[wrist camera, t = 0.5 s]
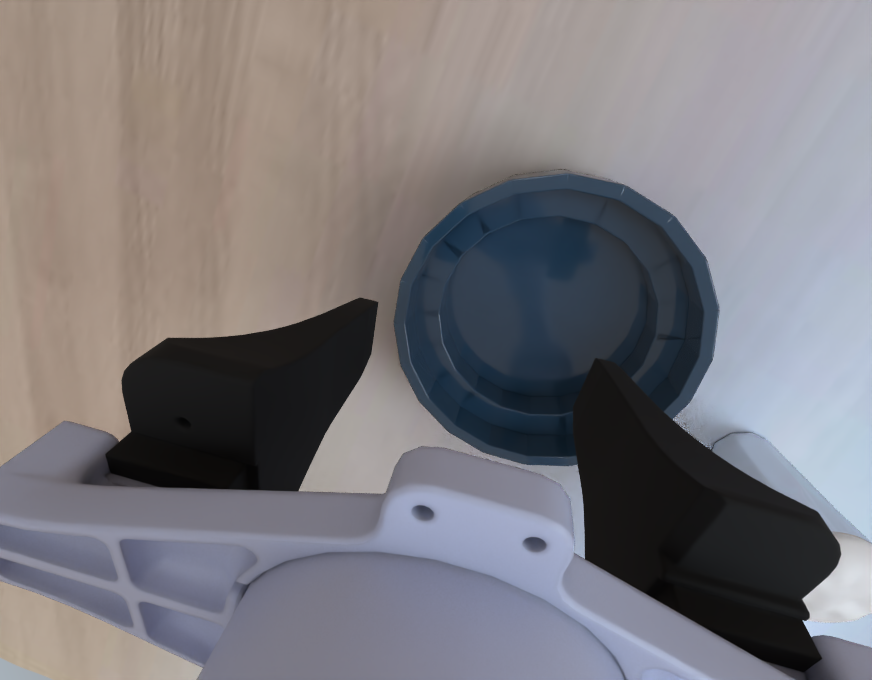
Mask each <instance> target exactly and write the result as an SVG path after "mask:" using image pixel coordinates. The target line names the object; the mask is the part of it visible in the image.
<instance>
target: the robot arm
mask: <svg viewBox="0 0 872 680" xmlns="http://www.w3.org/2000/svg"><path fill="white" fill-rule="evenodd" d="M377 308H378V302H376V301H372V300H368V299H364V298H358V299H355V300H353V301H350V302H348V303H346V304H344V305H342V306H339V307H337V308H335V309H332V310H330V311H328V312H326V313H323V314H321V315H318V316H315V317H313V318H310V319H307V320H304V321H302V322H299V323H296V324H293V325H289V326H285V327H282V328H278V329H274V330H269V331H263V332H257V333H251V334H245V335H238V336H228V337H214V338H167V339H165V340H164V341H162V342H161V343H159V344H158V345H157V346H155V347H154V348H152V349H151V350H149V351H148V352H146V353H145V354H144V355H142V356H141V357H139V358H138V359H136V360H135V361H133V362H132V363H131V364H130V365H129V366H128V367H127V368H126V370H125V371H124V374H123V377H122V392H123V397H124V401H125V406H126V410H127V414H128V419H129V423H130V427H131V432H130V433H129V434H128V435H127V436H126V437H125V438H123V439H122V440H121V441H120V442H119V441H118V439H117V438H115V437H114V436H113V435H112V434H110V433H108V432H106V431H102V430H98V429H95V428H91V427H88V426H84V425H81V424H77V423H74V422H70V421H63V422H62V423H61V424H59V425H58V426H56V427H55V428H54V429H52V430H51V431H49V432H48V433H47V434H45V435H44V436H42V437H41V438H40V439H38V440H37V441H35V442H34V443H33V444H31V445H30V446H29V447H27V448H26V449H24V450H23V451H22V452H20V453H19V454H17V455H16V456H15V457H13V458H12V459H10V460H9V461H8V462H6V463H5V464H3V465H2V466H1V467H0V581H2V582H5V583H8V584H11V585H14V586H17V587H20V588H23V589H26V590H29V591H32V592H35V593H37V594H40V595H43V596H45V597H48V598H50V599H53V600H55V601H58V602H61V603H63V604H66V605H68V606H71V607H73V608H75V609H77V610H80V611H82V612H84V613H86V614H89V615H91V616H93V617H95V618H98V619H100V620H102V621H104V622H107V623H109V624H111V625H113V626H115V627H117V628H119V629H121V630H124V631H126V632H128V633H130V634H132V635H134V636H136V637H138V638H141V639H143V640H145V641H147V642H149V643H151V644H153V645H155V646H158V647H160V648H162V649H164V650H166V651H168V652H170V653H172V654H175V655H177V656H179V657H181V658H183V659H185V660H187V661H189V662H192V663H194V664H196V665H198V666H200V667H202V668H203V669H202V671H201V673H200V674H199V676H198V678H197V680H872V648H871V647H868V646H864V645H860V644H857V643H853V642H850V641H846V640H843V639H839V638H836V637H832V636H825V635H820V636H813V637H811V636H810V634H809V632H808V630H807V629H806V627H805V625H804V623H803V621H802V620H804V621H806V620H808V619H809V618H810V613H809V611H808V609H807V607H806V605H805V603H804V602H803V600H802V599H803V598H804V597H805V596H806V595H808V594H809V593H810V592H811V591H812V590H813V589H815V588H816V587H817V586H818V585H819V584H820V583H821V582H823V581H824V580H825V579H826V578H827V577H828V576H829V575H830V574H831V573H832V572H833V571H834V569H835V568H836V567H837V565H838V563H839V560H840V557H841V549H840V544H839V542H838V541H837V539H836V538H835V536H834V535H833V533H832V532H831V530H830V529H829V527H828V526H827V524H826V523H825V521H824V520H823V518H822V517H821V515H820V514H819V513H818V512H817V511H816V510H814V509H812V508H810V507H808V506H806V505H804V504H802V503H800V502H798V501H796V500H794V499H792V498H790V497H788V496H786V495H784V494H782V493H780V492H778V491H776V490H774V489H772V488H770V487H768V486H767V485H765V484H763V483H761V482H760V481H758V480H756V479H754V478H753V477H751V476H749V475H748V474H746V473H744V472H743V471H741V470H739V469H738V468H736V467H735V466H733V465H731V464H730V463H728V462H727V461H726V460H724V459H723V458H721V457H720V456H718V455H717V454H715V453H714V452H712V451H711V450H709V449H708V448H707V447H705V446H704V445H703V444H701V443H700V442H699V441H697V440H696V439H695V438H694V437H692V436H691V435H690V434H689V433H687V432H686V431H685V430H684V429H682V428H681V427H680V426H679V425H678V424H677V423H675V422H674V421H673V420H672V419H671V418H670V417H669V416H668V415H667V414H666V413H665V412H664V411H662V410H661V409H660V408H659V407H658V406H657V405H656V404H655V403H654V402H653V401H652V400H651V399H650V398H649V397H648V396H647V395H646V394H645V393H644V391H643V390H642V389H641V388H640V387H639V386H638V385H637V384H636V383H635V382H634V381H633V380H632V379H631V378H630V377H629V376H628V375H627V374H626V373H625V372H624V371H623V370H622V369H621V368H620V367H619V366H618V365H617V364H616V363H615V362H611V361H607V360H603V359H599V358H595V360H594V362H593V364H592V366H591V369H590V371H589V373H588V375H587V377H586V379H585V382H584V384H583V386H582V388H581V390H580V393H579V395H578V397H577V399H576V401H575V403H574V406H573V437H574V443H575V450H576V456H577V462H578V469H579V475H580V481H581V487H582V494H583V503H584V527H585V559H584V558H582V557H580V556H578V555H577V554H575V553H574V546H575V537H574V528H573V519H572V510H571V501H570V498H569V496H568V495H567V494H566V492H565V491H564V489H563V488H562V486H561V485H560V484H559V483H557V482H555V481H553V480H551V479H549V478H547V477H545V476H543V475H541V474H538V473H535V472H531V471H527V470H524V469H520V468H516V467H513V466H509V465H505V464H502V463H498V462H494V461H491V460H487V459H483V458H480V457H476V456H472V455H469V454H465V453H461V452H458V451H454V450H450V449H447V448H439V447H426V446H421V447H418V448H416V449H413V450H411V451H408V452H406V453H403V455H402V456H401V458H400V460H399V461H398V463H397V464H396V466H395V468H394V471H393V474H392V477H391V479H390V482H389V485H388V488H387V491H386V493H384V494H370V493H335V492H301V491H299V488H300V486H301V484H302V482H303V479H304V477H305V475H306V473H307V471H308V469H309V466H310V464H311V462H312V460H313V458H314V456H315V454H316V452H317V450H318V448H319V445H320V443H321V441H322V439H323V437H324V435H325V433H326V431H327V430H328V428H329V426H330V424H331V423H332V421H333V420H334V418H335V417H336V415H337V413H338V412H339V410H340V409H341V407H342V406H343V404H344V403H345V401H346V399H347V398H348V396H349V395H350V393H351V392H352V390H353V389H354V387H355V385H356V384H357V382H358V381H359V379H360V377H361V376H362V373H363V371H364V369H365V367H366V365H367V362H368V360H369V358H370V355H371V352H372V345H373V337H374V330H375V323H376V315H377Z"/></svg>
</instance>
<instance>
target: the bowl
mask: <svg viewBox="0 0 872 680" xmlns="http://www.w3.org/2000/svg"><path fill="white" fill-rule="evenodd" d="M718 318H719V304H718V300H717V296H716V293H715V289H714V285H713V281H712V277H711V273H710V269H709V266H708V262H707V260H706V257H705V256H704V255H703V253H702V252H701V250H700V249H699V248H698V246H697V245H696V244H695V242H694V241H693V240H692V238H691V237H690V236H689V234H688V233H687V232H686V230H685V229H684V228H683V226H682V225H681V224H680V222H679V221H678V220H677V218H676V217H675V216H673V214H671V213H670V212H668V211H666V210H665V209H663V208H662V207H660V206H658V205H657V204H655V203H654V202H652V201H650V200H649V199H647V198H646V197H644V196H642V195H641V194H639V193H638V192H636V191H634V190H633V189H631V188H630V187H628V186H626V185H623V184H621V183H618V182H615V181H613V180H610V179H607V178H602V177H597V176H593V175H588V174H583V173H579V172H574V171H570V170H565V169H564V170H562V169H558V170H550V171H541V172H532V173H524V174H516V175H514V176H510V177H508V178H506V179H504V180H502V181H499V182H497V183H495V184H493V185H491V186H489V187H487V188H484V189H482V190H480V191H478V192H476V193H474V194H472V195H471V196H469V197H468V198H466V199H465V200H464V201H462V202H461V203H460V204H458V205H457V206H456V207H455V208H454V209H453V210H452V211H451V212H450V213H449V214H448V215H447V216H446V217H445V218H443V219H442V220H441V221H440V222H439V223H438V224H437V225H436V226H435V227H434V228H433V229H432V230H431V231H430V232H428V233H427V234H426V235H425V236H424V238H423V239H422V240H421V242H420V244H419V246H418V248H417V250H416V252H415V253H414V255H413V257H412V259H411V261H410V263H409V265H408V267H407V268H406V270H405V272H404V274H403V276H402V278H401V281H400V286H399V292H398V298H397V304H396V310H395V316H394V329H395V336H396V342H397V348H398V354H399V360H400V364H401V367H402V369H403V371H404V373H405V375H406V377H407V379H408V381H409V383H410V385H411V387H412V389H413V391H414V393H415V395H416V396H417V398H418V400H419V401H420V403H421V404H422V405H423V406H424V407H425V408H426V409H427V410H428V411H429V412H430V413H431V414H432V415H433V416H434V418H435V419H436V420H437V421H438V422H439V423H440V424H441V425H442V426H443V427H444V428H445V429H446V430H447V431H448V432H449V433H451V434H453V435H454V436H456V437H458V438H460V439H461V440H463V441H465V442H466V443H468V444H470V445H471V446H473V447H475V448H476V449H478V450H480V451H481V452H483V453H486V454H490V455H493V456H497V457H500V458H504V459H507V460H511V461H514V462H518V463H521V464H526V465H549V466H573V465H577V464H578V462H577V456H576V450H575V443H574V437H573V406H574V403H575V401H576V399H577V397H578V395H579V393H580V390H581V388H582V386H583V384H584V382H585V379H586V377H587V375H588V373H589V371H590V369H591V366H592V364H593V362H594V360H595V358H599V359H603V360H607V361H611V362H615V363H616V364H617V365H618V366H619V367H620V368H621V369H622V370H623V371H624V372H625V373H626V374H627V375H628V376H629V377H630V378H631V379H632V380H633V381H634V382H635V383H636V384H637V385H638V386H639V387H640V388H641V389H642V390H643V391H644V393H645V394H646V395H647V396H648V397H649V398H650V399H651V400H652V401H653V402H654V403H655V404H656V405H657V406H658V407H659V408H660V409H661V410H662V411H664V412H665V413H666V414H667V415H668V416H669V417H670V418H671V419H673V418H674V417H675V416H676V415H677V414H678V413H679V412H680V411H681V410H682V409H683V408H685V407H686V406H687V405H688V404H689V403H690V401H691V400H692V398H693V396H694V394H695V392H696V391H697V389H698V387H699V385H700V383H701V381H702V379H703V377H704V375H705V373H706V372H707V370H708V368H709V366H710V364H711V362H712V360H713V356H714V349H715V341H716V333H717V326H718Z"/></svg>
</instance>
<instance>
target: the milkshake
mask: <svg viewBox="0 0 872 680" xmlns="http://www.w3.org/2000/svg"><path fill="white" fill-rule="evenodd" d="M712 452H714V453H715V454H717V455H718V456H720V457H721V458H723V459H724V460H726V461H727V462H728V463H730V464H731V465H733V466H735V467H736V468H738V469H739V470H741V471H743V472H744V473H746V474H748V475H749V476H751V477H753V478H754V479H756V480H758V481H760V482H761V483H763V484H765V485H767V486H768V487H770V488H772V489H774V490H776V491H778V492H780V493H782V494H784V495H786V496H788V497H790V498H792V499H794V500H796V501H798V502H800V503H802V504H804V505H806V506H808V507H810V508H812V509H814V510H816V511H817V512H818V513H819V514H820V515H821V517H822V518H823V520H824V521H825V523H826V524H827V526H828V527H829V529H830V530H831V532H832V533H833V535H834V536H835V538H836V539H837V541H838V542H839V544H840V549H841V557H840V560H839V563H838V565H837V567H836V568H835V569H834V571H833V572H832V573H831V574H830V575H829V576H828V577H827V578H826V579H825V580H824V581H823V582H821V583H820V584H819V585H818V586H817V587H816V588H815V589H813V590H812V591H811V592H810V593H809V594H808V595H806V596H805V597H804V598H803V599H802V600H803V602H804V603H805V605H806V607H807V609H808V611H809V613H810V618H809V619H808V620H809V621H813V622H823V623H837V622H852V621H855V620H858V619H860V618H862V617H864V616H866V615H869V614H872V542H871V541H870V540H868V539H867V538H866V537H865V536H864V535H863V534H862V533H861V532H860V531H859V530H858V529H857V528H856V527H855V526H854V525H853V524H852V523H851V522H850V521H848V520H847V519H846V518H845V517H844V516H843V515H842V514H841V513H840V512H839V511H838V510H837V509H836V508H835V507H834V506H833V505H832V504H831V503H830V502H829V501H828V500H827V499H826V498H825V497H824V496H823V495H822V494H821V493H820V492H819V491H818V490H817V489H816V488H815V487H814V486H813V485H812V484H811V483H810V482H809V481H808V480H807V479H806V478H805V477H804V476H803V475H802V474H801V473H800V472H799V471H798V470H797V469H796V468H795V467H794V466H793V465H792V464H791V463H790V462H789V461H788V460H787V459H786V458H785V457H784V456H783V455H782V454H781V453H780V452H779V451H778V449H777V448H776V447H775V446H774V445H773V444H772V443H770V442H769V441H768V440H766V439H764V438H762V437H760V436H758V435H756V434H754V433H732V434H730V435H728V436H727V437H725V438H723V439H721V440H719V441H718V442H716V443H715V445H714V447H713V449H712Z"/></svg>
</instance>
